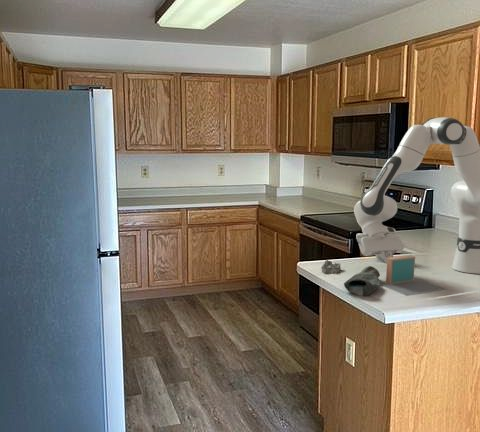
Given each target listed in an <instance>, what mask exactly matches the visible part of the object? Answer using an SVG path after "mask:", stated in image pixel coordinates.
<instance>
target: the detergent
mask: <svg viewBox="0 0 480 432" xmlns="http://www.w3.org/2000/svg"><path fill="white" fill-rule="evenodd" d="M380 276H381V274H380V272H379V270H378V269H377V268H376V267H374V266H371V265H368V266H366V267H364V268H363V269H362V270H361V271H360V272H359V273H356V274H354V275H353V276H351V277H350V278H349V279H348V280H346V281H345V282H344V283H343V286H344V288H345V290H347V291H348V292H349V293H350V294H352V295H355V296H361V297H363V296H364V297H365V296H368V295H370V294H371V295H372V294H373V293H374V292H375V290H376V289H378V287H380V286H381V285H380V282H381V281H380V279H379V277H380Z"/></svg>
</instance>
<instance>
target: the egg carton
mask: <svg viewBox="0 0 480 432" xmlns="http://www.w3.org/2000/svg"><path fill="white" fill-rule="evenodd" d="M341 267H342V263H340V262H338V263H337V262H334V263H333V262H332V261H331V260H328V259H326V260H325V261H324V263H323V264H322V265H321V272H322V273H323V274H331V275H334V274H338V273H339V272H340V270H341Z"/></svg>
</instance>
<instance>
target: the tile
mask: <svg viewBox="0 0 480 432" xmlns="http://www.w3.org/2000/svg"><path fill="white" fill-rule="evenodd" d="M415 263H416V256H415V255H412V254H411V255H401V256H395V257H394V256H393V257H392V258H387V263H386V275H385V276H386V277H385V281H386V283H389V284H395V283H401V282H408V281H414V277H415V269H416V268H415V267H416V266H415Z"/></svg>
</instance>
